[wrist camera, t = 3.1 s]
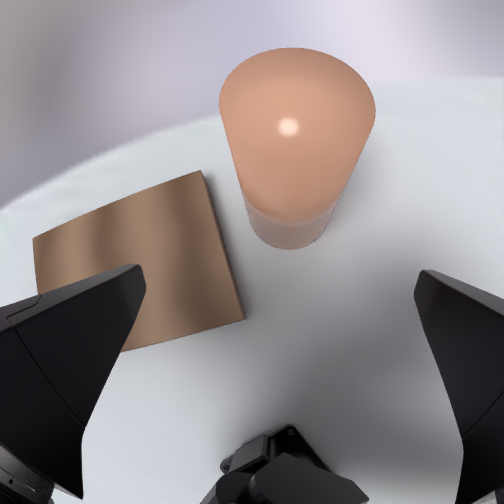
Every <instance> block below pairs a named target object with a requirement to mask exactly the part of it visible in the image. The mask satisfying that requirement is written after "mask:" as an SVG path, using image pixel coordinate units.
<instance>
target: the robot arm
mask: <svg viewBox="0 0 504 504" xmlns="http://www.w3.org/2000/svg"><path fill="white" fill-rule="evenodd" d="M145 294H146V282H145V278H144V274H143V270H142V267H141V266H140V265H139V264H127V265H124V266H121V267H118V268H115V269H112V270H109V271H106V272H103V273H100V274H97V275H94V276H91V277H88V278H85V279H83V280H80V281H77V282H74V283H71V284H68V285H65V286H62V287H60V288H57V289H54V290H51V291H48V292H45V293H43V294H39V295H36V296H33V297H30V298H27V299H24V300H22V301H19V302H16V303H13V304H10V305H7V306H3V307H0V504H54V502H53V500H52V499H51V496H52V493H53V490H54V488H56V489H58V490H60V491H62V492H64V493H67V494H69V495H71V496H74V497H76V498H78V499H81V500H82V499H83V479H82V448H81V446H82V437H83V433H84V430H85V427H86V426H87V423H88V421H89V419H90V417H91V414H92V412H93V410H94V407H95V405H96V403H97V401H98V399H99V396H100V394H101V392H102V390H103V388H104V385H105V383H106V381H107V379H108V377H109V375H110V373H111V370H112V368H113V366H114V364H115V362H116V360H117V358H118V356H119V354H120V352H121V350H122V348H123V346H124V344H125V342H126V340H127V338H128V336H129V334H130V332H131V330H132V328H133V325H134V323H135V321H136V318H137V315H138V313H139V310H140V307H141V304H142V302H143V299H144V296H145ZM414 300H415V303H416V306H417V309H418V313H419V316H420V320H421V323H422V327H423V330H424V333H425V335H426V338H427V340H428V343H429V345H430V348H431V350H432V353H433V355H434V358H435V360H436V363H437V366H438V368H439V371H440V374H441V377H442V379H443V382H444V385H445V388H446V391H447V394H448V397H449V400H450V403H451V406H452V409H453V412H454V415H455V418H456V422H457V425H458V428H459V432H460V435H461V438H462V443H463V451H464V454H463V463H462V469H461V475H460V481H459V487H458V492H457V497H456V501H455V504H481V503H483V502H486V501H488V500H491V499H493V498H495V497H496V502H497V504H504V299H502V298H500V297H497V296H495V295H493V294H490V293H488V292H486V291H483V290H481V289H478V288H476V287H474V286H471V285H469V284H466V283H464V282H461V281H459V280H456V279H454V278H451V277H449V276H446V275H444V274H441V273H439V272H436V271H434V270H422V271H421V272H420V274H419V277H418V280H417V283H416V286H415V290H414ZM289 429H292V430H293V432H292V433H290V434H289V433H287V430H289ZM224 465H229V466H230V468H225V467H224ZM220 469H221V471H222V472H223V473H224V474H225V475H223V476H222V477H221V478H220V479H219V480H218V481H217V482H216V484H215V485H214V486H213V488H212V489H211V490H210V491H209V493H208V494H207V495H206V497H205V498H204V499H203V500H202V502H201V503H200V504H366V503H367V502H368V501H369V498H368V497H367V496H366V494H365V493H364V492H363V491H362V490H361V489H360V488H359V487H358V486H357V485H356V484H355V483H354V482H353V481H351V480H349V479H346V478H344V477H341V476H339V475H336V474H334V473H333V472H332V471H331V470H330V469H329V467H328V466H327V465H326V464H325V463H324V461H323V460H322V459H321V458H320V457H319V455H318V454H317V453H316V452H315V450H314V449H313V448H312V447H311V445H310V444H309V443H308V442H307V440H306V439H305V438H304V437H303V435H302V434H301V433H300V432H299V430H298V429H297V428H296V427H295V426H294V425H292V424H288V425H286V426H284V427H283V428H281V429H279V430H278V431H276V432H275V433H273V434H271V435H270V436H268V435H262V436H260V437H259V438H257V439H255V440H253V441H252V442H250V443H248V444H246V445H245V446H243V447H241V448H239V449H237V450H236V451H235V454H234V456H232V457H230V458H228V459H226V460H224V461H223V462H222V463H221V465H220Z"/></svg>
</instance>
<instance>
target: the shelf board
mask: <svg viewBox="0 0 504 504" xmlns="http://www.w3.org/2000/svg"><path fill="white" fill-rule="evenodd" d="M33 253H34V264H35V274H36V283H37V290H38V295H39V294H43V293H45V292H48V291H51V290H54V289H57V288H60V287H62V286H65V285H68V284H71V283H74V282H77V281H80V280H83V279H85V278H88V277H91V276H94V275H97V274H100V273H103V272H106V271H109V270H112V269H115V268H118V267H121V266H124V265H127V264H139V265H140V266H141V267H142V270H143V274H144V278H145V282H146V294H145V296H144V299H143V302H142V304H141V307H140V310H139V313H138V315H137V318H136V321H135V323H134V325H133V328H132V330H131V332H130V334H129V336H128V338H127V340H126V342H125V344H124V346H123V348H122V350H121V352H125V351H129V350H133V349H137V348H141V347H145V346H149V345H153V344H157V343H161V342H165V341H169V340H173V339H177V338H181V337H184V336H188V335H192V334H195V333H199V332H203V331H206V330H210V329H213V328H217V327H220V326H224V325H227V324H231V323H234V322H238V321H241V320H244V319H246V317H245V314H244V311H243V307H242V304H241V301H240V297H239V294H238V291H237V287H236V284H235V281H234V277H233V274H232V270H231V267H230V264H229V260H228V257H227V253H226V250H225V246H224V243H223V240H222V236H221V233H220V229H219V226H218V222H217V219H216V215H215V212H214V208H213V204H212V201H211V197H210V194H209V190H208V187H207V183H206V180H205V178H204V176H203V174H202V172H201V170H199V171H196V172H193V173H190V174H187V175H184V176H181V177H178V178H175V179H173V180H170V181H167V182H164V183H162V184H159V185H156V186H153V187H151V188H148V189H145V190H143V191H140V192H138V193H135V194H132V195H130V196H127V197H125V198H122V199H120V200H117V201H115V202H112V203H110V204H108V205H105V206H103V207H100V208H98V209H96V210H93V211H91V212H89V213H86V214H84V215H82V216H79V217H77V218H75V219H73V220H70V221H68V222H66V223H64V224H62V225H59V226H57V227H55V228H53V229H51V230H49V231H47V232H45V233H42V234H40V235H38V236H36V237H34V238H33Z"/></svg>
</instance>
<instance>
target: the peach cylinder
mask: <svg viewBox="0 0 504 504" xmlns="http://www.w3.org/2000/svg"><path fill="white" fill-rule="evenodd" d="M219 108H220V114H221V117H222V121H223V125H224V128H225V132H226V136H227V139H228V143H229V147H230V151H231V154H232V158H233V162H234V165H235V169H236V173H237V176H238V180H239V184H240V187H241V191H242V195H243V199H244V202H245V206H246V210H247V213H248V217H249V221H250V224H251V226H252V228H253V230H254V232H255V233H256V234H257V235H258V237H259V238H260V239H262V240H263V241H264V242H266V243H267V244H269V245H271V246H273V247H276V248H280V249H286V250H292V249H299V248H302V247H305V246H307V245H309V244H311V243H312V242H314V241H315V240H316V239H317V238H318V237H319V236H320V235H321V233H322V232H323V230H324V228H325V227H326V225H327V223H328V221H329V219H330V217H331V215H332V212H333V210H334V208H335V206H336V204H337V202H338V200H339V198H340V196H341V194H342V192H343V190H344V188H345V186H346V184H347V182H348V180H349V178H350V175H351V173H352V171H353V169H354V167H355V165H356V163H357V161H358V158H359V156H360V154H361V152H362V150H363V148H364V145H365V143H366V141H367V139H368V137H369V134H370V132H371V130H372V128H373V125H374V121H375V112H376V110H375V102H374V99H373V95H372V93H371V91H370V89H369V87H368V85H367V84H366V82H365V81H364V80H363V78H362V77H361V76H360V75H359V74H358V73H357V72H356V71H355V70H354V69H352V68H351V67H350V66H349V65H347V64H346V63H344V62H342V61H341V60H339V59H337V58H335V57H333V56H331V55H328V54H325V53H323V52H319V51H315V50H310V49H304V48H281V49H274V50H269V51H266V52H263V53H259V54H257V55H255V56H252V57H250V58H249V59H247V60H245V61H244V62H242V63H241V64H239V65H238V66H237V67H236V68H235V69H234V70H233V71H232V72H231V73H230V74H229V76H228V77H227V79H226V80H225V82H224V84H223V86H222V89H221V93H220V98H219Z"/></svg>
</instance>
